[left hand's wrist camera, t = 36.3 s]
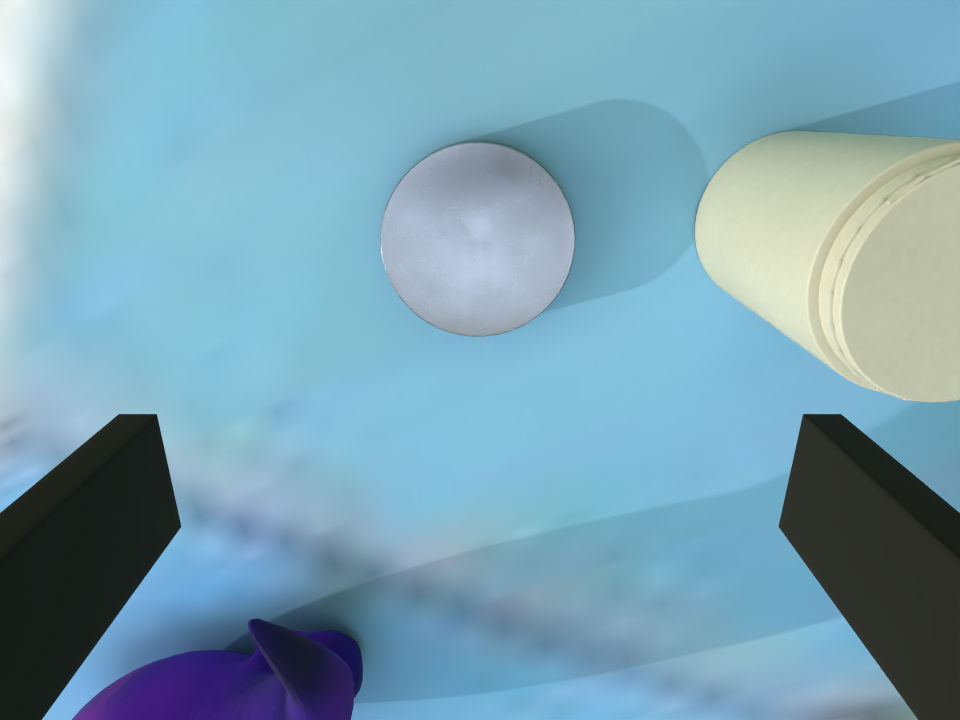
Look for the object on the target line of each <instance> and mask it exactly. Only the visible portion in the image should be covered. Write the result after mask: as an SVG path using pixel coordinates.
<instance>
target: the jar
mask: <svg viewBox="0 0 960 720" xmlns="http://www.w3.org/2000/svg"><path fill="white" fill-rule="evenodd" d="M695 241H696V248H697V252H698V255H699V259H700V261H701V263H702V265H703V267H704V269H705V271H706V272H707V274H708V275H709V277H710V278H711V279H712V280H713V281H714V282H715V283H716V284H717V285H718V286H719V287H720V288H722V289H723V290H724V291H726V292H727V293H728V294H730V295H731V296H732V297H734V298H735V299H737V300H738V301H739V302H741V303H742V304H743V305H745V306H746V307H748V308H749V309H750V310H752V311H753V312H755V313H756V314H757V315H759V316H760V317H761V318H763V319H764V320H766V321H767V322H768V323H770V324H771V325H772V326H774V327H775V328H777V329H778V330H779V331H781V332H782V333H784V334H785V335H786V336H788V337H789V338H790V339H792V340H793V341H795V342H796V343H797V344H799V345H800V346H801V347H803V348H804V349H806V350H807V351H808V352H810V353H811V354H812V355H814V356H815V357H817V358H818V359H819V360H821V361H822V362H824V363H825V364H826V365H828V366H829V367H830V368H832V369H833V370H835V371H836V372H837V373H839V374H840V375H841V376H843V377H845V378H846V379H848V380H850V381H851V382H853V383H855V384H857V385H860V386H862V387H865V388H867V389H871V390H875V391H879V392H882V393H885V394H888V395H891V396H894V397H897V398H900V399H903V400H912V401H921V402H948V401H956V400H960V139H944V138H925V137H907V136H888V135H869V134H851V133H832V132H814V131H786V132H779V133H775V134H772V135H768V136H765V137H763V138H760V139H758V140H755V141H754V142H752V143H750V144H748V145H746V146H745V147H743V148H742V149H740V150H739V151H738V152H736V153H735V154H734V155H733V156H731V157H730V158H729V159H728V160H727V161H726V162H725V163H724V164H723V165H722V166H721V168H720V169H719V170H718V171H717V172H716V174H715V175H714V176H713V178H712V179H711V181H710V182H709V184H708V186H707V188H706V190H705V192H704V194H703V196H702V199H701V201H700V204H699V207H698V211H697V215H696V223H695Z"/></svg>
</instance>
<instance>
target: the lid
mask: <svg viewBox="0 0 960 720" xmlns="http://www.w3.org/2000/svg"><path fill="white" fill-rule="evenodd" d="M574 249H575V231H574V223H573V218H572V213H571V210H570V208H569V205H568V202H567V200H566V198H565V196H564V194H563V192H562V190H561V188H560V187H559V185H558V184H557V183H556V181H555V180H554V178H553V177H552V176H551V175H550V174H549V173H548V172H547V171H546V170H545V169H544V168H543V167H542V166H541V165H540V164H538V163H537V162H536V161H535V160H534V159H532V158H531V157H529V156H528V155H526V154H524V153H523V152H521V151H519V150H517V149H514V148H512V147H510V146H507V145H503V144H500V143H495V142H488V141H468V142H461V143H456V144H453V145H449V146H446V147H443V148H441V149H439V150H437V151H435V152H433V153H431V154H430V155H428V156H426V157H425V158H423V159H422V160H421V161H420V162H418V163H417V164H416V165H415V166H414V167H412V168H411V169H410V170H409V171H408V172H407V173H406V175H405V176H404V177H403V178H402V179H401V180H400V182H399V183H398V185H397V186H396V188H395V189H394V191H393V193H392V195H391V197H390V199H389V201H388V204H387V206H386V209H385V212H384V216H383V221H382V226H381V252H382V257H383V262H384V266H385V269H386V272H387V275H388V277H389V279H390V281H391V284H392V286H393V288H394V289H395V291H396V292H397V294H398V295H399V297H400V298H401V299H402V300H403V302H404V303H405V304H406V305H407V306H408V307H409V308H410V309H411V310H412V311H413V312H414V313H415V314H416V315H418V316H419V317H420V318H422V319H423V320H425V321H426V322H428V323H430V324H432V325H433V326H435V327H437V328H440V329H442V330H445V331H447V332H451V333H455V334H459V335H465V336H491V335H497V334H501V333H505V332H509V331H511V330H514V329H516V328H519V327H521V326H523V325H524V324H526V323H528V322H530V321H531V320H533V319H534V318H535V317H537V316H538V315H540V314H541V313H542V312H543V311H544V310H545V309H546V308H547V307H548V306H549V305H550V304H551V303H552V301H553V300H554V299H555V298H556V297H557V295H558V293H559V292H560V290H561V289H562V287H563V285H564V283H565V281H566V279H567V277H568V274H569V271H570V268H571V265H572V261H573V256H574Z"/></svg>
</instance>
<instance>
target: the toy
mask: <svg viewBox="0 0 960 720" xmlns="http://www.w3.org/2000/svg"><path fill="white" fill-rule="evenodd" d="M248 629H249V631H250V633H251V635H252V637H253V639H254V640H255V642H256V644H257V645H258V648H257V649H256V650H255V652H254V653H253V655H252V656H248V655H244V654H240V653H235V652H228V651H221V650H202V651H193V652H187V653H183V654H179V655H175V656H171V657H168V658H164V659H161V660H158V661H155V662H153V663H150V664H148V665H145V666H143V667H141V668H138V669H136V670H134V671H132V672H130V673H128V674H127V675H125V676H123V677H122V678H120V679H118V680H117V681H115V682H114V683H112V684H111V685H109V686H108V687H106V688H105V689H103V690H102V691H101V692H99V693H98V694H97V695H96V696H95V697H94V698H93V699H91V700H90V701H89V702H88V703H87V704H86V705H85V706H84V707H83V708H82V709H81V710H80V711H79V712H78V713H77V714H76V715H75V717H74V718H73V719H72V720H351V715H352V710H353V702H354V698H355V696H356V695H357V693H358V692H359V690H360V687H361V684H362V678H363V665H362V656H361V651H360V648H359V646H358V644H357V642H356V641H355V640H353V639H352V638H351V637H349V636H347V635H346V634H344V633H341V632H338V631H319V632H311V633H304V632H298V631H293V630H289V629H286V628H283V627H281V626H278V625H275V624H272V623H269V622H266V621H263V620H261V619H252V620H250V621H249V623H248Z"/></svg>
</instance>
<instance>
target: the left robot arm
mask: <svg viewBox="0 0 960 720" xmlns="http://www.w3.org/2000/svg"><path fill="white" fill-rule="evenodd" d="M180 528H181V523H180V519H179V514H178V509H177V505H176V500H175V496H174V491H173V487H172V482H171V477H170V473H169V468H168V464H167V459H166V454H165V450H164V445H163V441H162V436H161V431H160V427H159V422H158V418H157V414H119V415H118V416H116V417H115V418H114V419H113V420H112V421H110V422H109V423H108V424H107V425H106V426H104V427H103V428H102V429H101V430H100V431H98V432H97V433H96V434H95V435H94V436H92V437H91V438H90V439H89V440H88V441H86V442H85V443H84V444H83V445H82V446H80V447H79V448H78V449H77V450H76V451H74V452H73V453H72V454H71V455H70V456H68V457H67V458H66V459H65V460H64V461H62V462H61V463H60V464H59V465H58V466H56V467H55V468H54V469H53V470H52V471H50V472H49V473H48V474H47V475H46V476H44V477H43V478H42V479H41V480H40V481H38V482H37V483H36V484H35V485H34V486H32V487H31V488H30V489H29V490H28V491H26V492H25V493H24V494H23V495H22V496H20V497H19V498H18V499H17V500H16V501H14V502H13V503H12V504H11V505H10V506H8V507H7V508H6V509H5V510H4V511H2V512H1V513H0V720H42V719H43V717H44V716H45V714H46V713H47V712H48V710H49V709H50V707H51V706H52V705H53V703H54V702H55V701H56V699H57V698H58V696H59V695H60V694H61V692H62V691H63V690H64V688H65V687H66V685H67V684H68V683H69V681H70V680H71V678H72V677H73V676H74V674H75V673H76V672H77V670H78V669H79V667H80V666H81V665H82V663H83V662H84V660H85V659H86V658H87V656H88V655H89V654H90V652H91V651H92V649H93V648H94V647H95V645H96V644H97V642H98V641H99V640H100V638H101V637H102V636H103V634H104V633H105V631H106V630H107V629H108V627H109V626H110V625H111V623H112V622H113V620H114V619H115V618H116V616H117V615H118V613H119V612H120V611H121V609H122V608H123V607H124V605H125V604H126V602H127V601H128V600H129V598H130V597H131V595H132V594H133V593H134V591H135V590H136V589H137V587H138V586H139V584H140V583H141V582H142V580H143V579H144V577H145V576H146V575H147V573H148V572H149V571H150V569H151V568H152V566H153V565H154V564H155V562H156V561H157V560H158V558H159V557H160V555H161V554H162V553H163V551H164V550H165V548H166V547H167V546H168V544H169V543H170V542H171V540H172V539H173V537H174V536H175V535H176V533H177V532H178V530H179V529H180ZM779 528H780V529H781V530H782V532H783V533H784V535H785V536H786V537H787V539H788V540H789V542H790V543H791V544H792V546H793V547H794V548H795V550H796V551H797V553H798V554H799V555H800V557H801V558H802V560H803V561H804V562H805V564H806V565H807V566H808V568H809V569H810V571H811V572H812V573H813V575H814V576H815V578H816V579H817V580H818V582H819V583H820V584H821V586H822V587H823V589H824V590H825V591H826V593H827V594H828V595H829V597H830V598H831V600H832V601H833V602H834V604H835V605H836V607H837V608H838V609H839V611H840V612H841V613H842V615H843V616H844V618H845V619H846V620H847V622H848V623H849V625H850V626H851V627H852V629H853V630H854V631H855V633H856V634H857V636H858V637H859V638H860V640H861V641H862V642H863V644H864V645H865V647H866V648H867V649H868V651H869V652H870V654H871V655H872V656H873V658H874V659H875V660H876V662H877V663H878V665H879V666H880V667H881V669H882V670H883V672H884V673H885V674H886V676H887V677H888V678H889V680H890V681H891V683H892V684H893V685H894V687H895V688H896V690H897V691H898V692H899V694H900V695H901V696H902V698H903V699H904V701H905V702H906V703H907V705H908V706H909V707H910V709H911V710H912V712H913V713H914V714H915V716H916V717H917V719H918V720H960V513H959V512H958V511H956V510H955V509H954V508H953V507H952V506H950V505H949V504H948V503H947V502H946V501H944V500H943V499H942V498H941V497H940V496H938V495H937V494H936V493H935V492H934V491H932V490H931V489H930V488H929V487H928V486H926V485H925V484H924V483H923V482H922V481H920V480H919V479H918V478H917V477H916V476H914V475H913V474H912V473H911V472H910V471H908V470H907V469H906V468H905V467H904V466H902V465H901V464H900V463H899V462H898V461H896V460H895V459H894V458H893V457H892V456H890V455H889V454H888V453H887V452H886V451H884V450H883V449H882V448H881V447H880V446H878V445H877V444H876V443H875V442H874V441H872V440H871V439H870V438H869V437H868V436H866V435H865V434H864V433H863V432H862V431H860V430H859V429H858V428H857V427H856V426H854V425H853V424H852V423H851V422H850V421H848V420H847V419H846V418H845V417H844V416H842V415H841V414H803V418H802V422H801V427H800V431H799V436H798V441H797V445H796V450H795V454H794V459H793V464H792V468H791V473H790V477H789V482H788V487H787V491H786V496H785V500H784V505H783V509H782V514H781V519H780V523H779Z"/></svg>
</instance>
